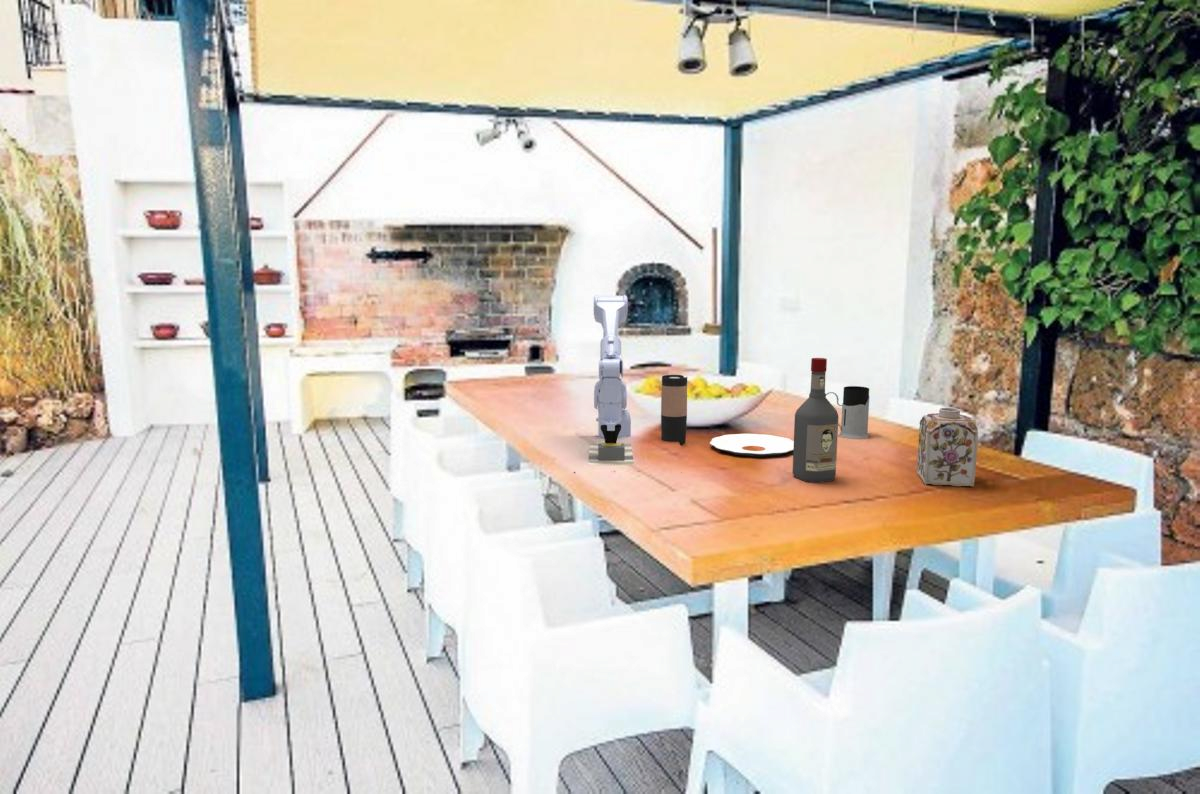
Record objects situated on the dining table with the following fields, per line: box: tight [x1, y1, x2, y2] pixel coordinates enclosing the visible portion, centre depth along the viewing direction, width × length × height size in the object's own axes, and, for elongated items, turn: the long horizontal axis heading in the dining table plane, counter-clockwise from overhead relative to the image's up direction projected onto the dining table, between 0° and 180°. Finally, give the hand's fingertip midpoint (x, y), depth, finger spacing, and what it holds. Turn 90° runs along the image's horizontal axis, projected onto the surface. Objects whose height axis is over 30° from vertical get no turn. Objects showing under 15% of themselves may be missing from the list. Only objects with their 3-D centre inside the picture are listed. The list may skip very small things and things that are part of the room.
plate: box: [709, 433, 794, 458], centre depth 236 cm, size 25×25×2 cm
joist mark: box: [587, 455, 634, 460], centre depth 220 cm, size 4×12×1 cm, turn 90°
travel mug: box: [660, 374, 688, 446], centre depth 242 cm, size 8×8×20 cm
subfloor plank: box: [587, 443, 635, 466], centre depth 225 cm, size 24×12×1 cm, turn 0°
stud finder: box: [597, 442, 625, 461], centre depth 220 cm, size 5×7×4 cm
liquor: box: [792, 357, 840, 484], centre depth 203 cm, size 9×9×30 cm
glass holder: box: [825, 385, 870, 440], centre depth 252 cm, size 9×14×15 cm, turn 89°
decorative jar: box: [916, 407, 979, 487], centre depth 201 cm, size 12×12×18 cm
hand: (610, 451), depth 223 cm, fingers closed
